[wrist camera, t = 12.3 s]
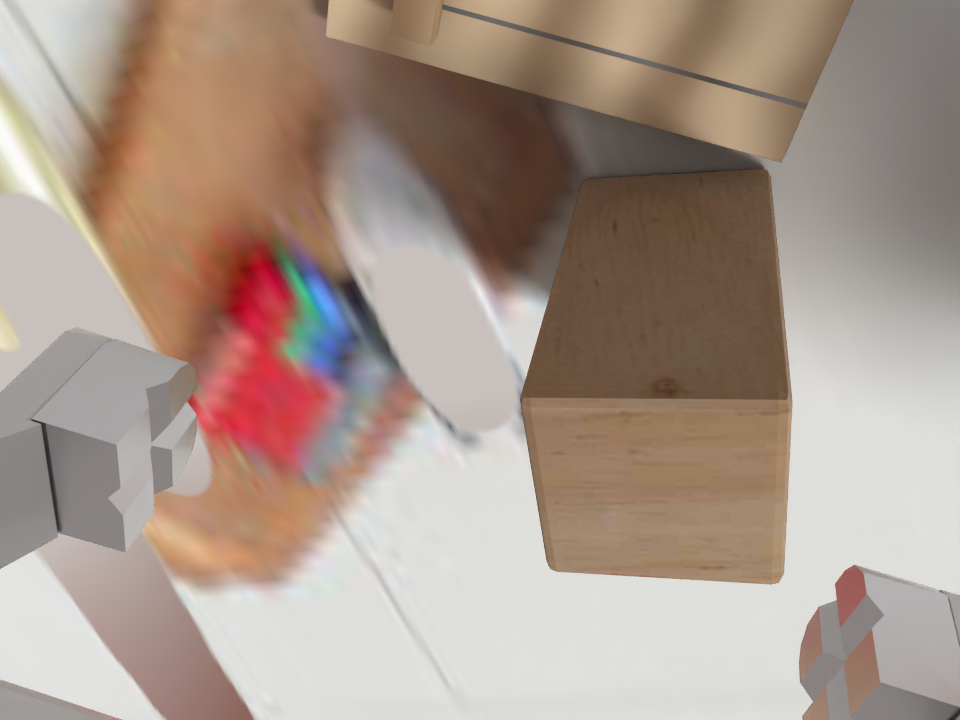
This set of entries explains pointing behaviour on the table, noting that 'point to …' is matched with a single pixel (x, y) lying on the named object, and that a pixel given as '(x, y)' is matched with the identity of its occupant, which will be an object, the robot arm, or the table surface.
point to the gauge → (416, 20)
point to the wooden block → (664, 383)
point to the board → (633, 57)
